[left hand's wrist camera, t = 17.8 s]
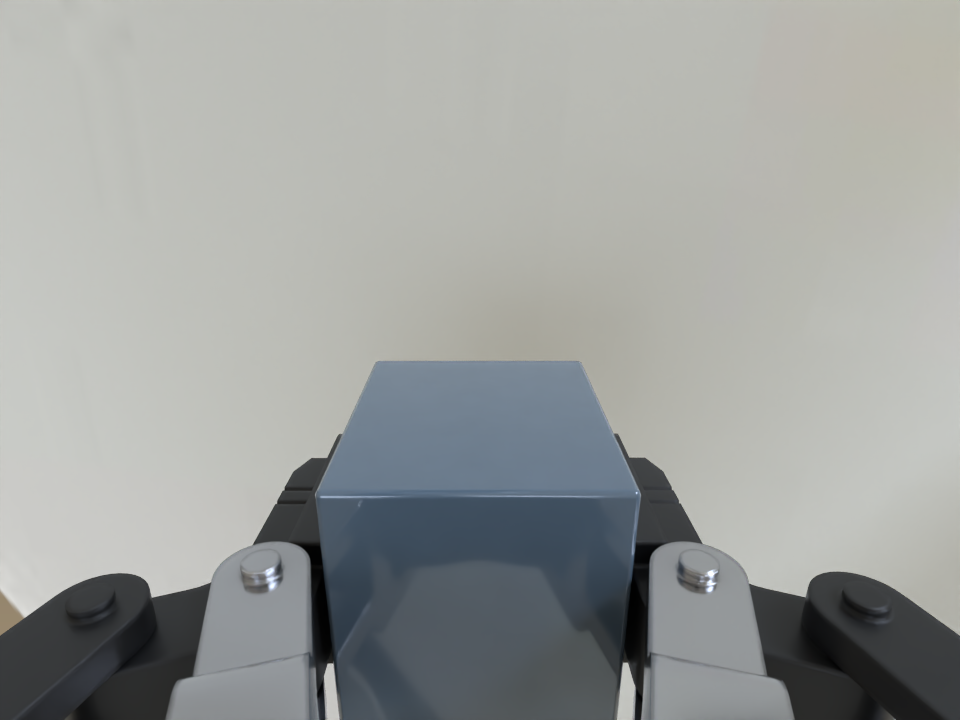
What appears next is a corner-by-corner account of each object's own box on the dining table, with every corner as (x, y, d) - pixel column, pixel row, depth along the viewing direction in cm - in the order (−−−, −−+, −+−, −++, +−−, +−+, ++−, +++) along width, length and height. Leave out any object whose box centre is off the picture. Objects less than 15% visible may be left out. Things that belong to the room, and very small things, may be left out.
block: (374, 358, 12) (312, 492, 7) (582, 359, 12) (643, 493, 7) (386, 554, 14) (341, 760, 9) (569, 554, 14) (614, 760, 9)
